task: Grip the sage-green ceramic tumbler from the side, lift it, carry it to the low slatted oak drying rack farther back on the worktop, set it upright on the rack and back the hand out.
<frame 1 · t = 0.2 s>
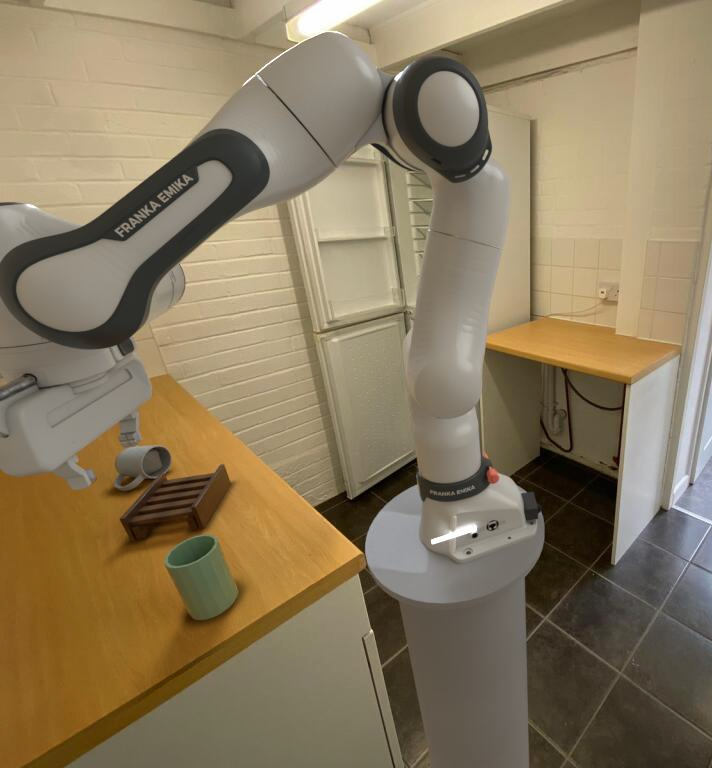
hand: (111, 463, 52), 29 cm above the kitchen counter, tool pointing down, fingers open, 8 cm apart
ceramic mug: (145, 478, 99), on the kitchen counter
rack: (185, 510, 88), on the kitchen counter
tumbler: (214, 601, 67), on the kitchen counter
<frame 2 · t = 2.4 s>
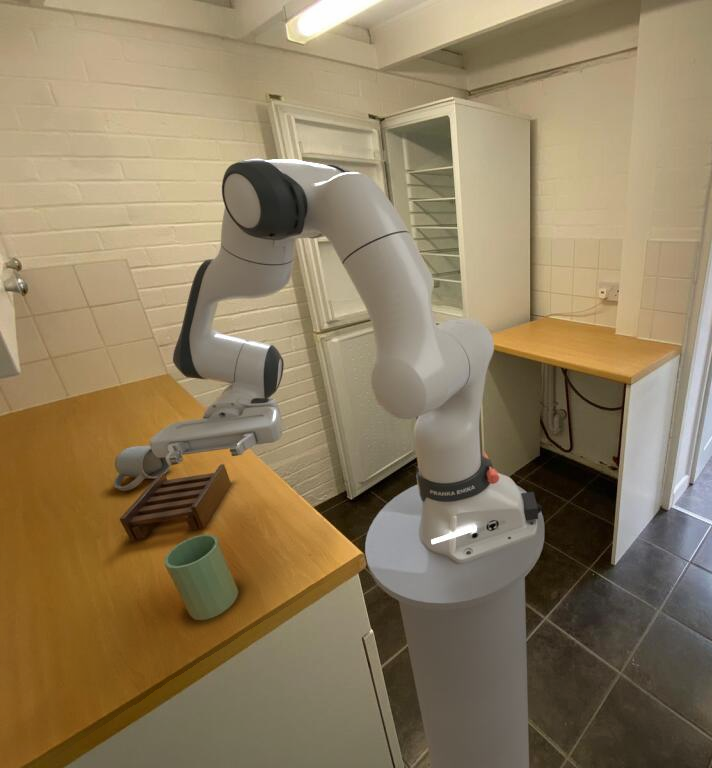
hand: (204, 456, 70), 20 cm above the kitchen counter, tool horizontal, fingers open, 8 cm apart
nothing on the kitchen counter moved.
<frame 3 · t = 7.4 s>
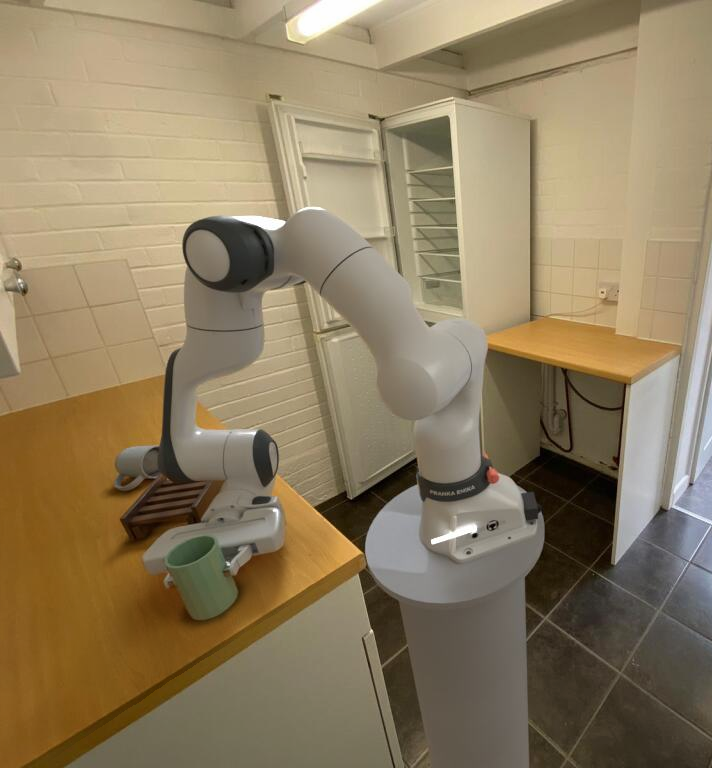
hand: (200, 578, 64), 6 cm above the kitchen counter, tool horizontal, fingers closed on tumbler, 6 cm apart
tumbler: (214, 601, 67), on the kitchen counter, touching gripper
everything else where it was.
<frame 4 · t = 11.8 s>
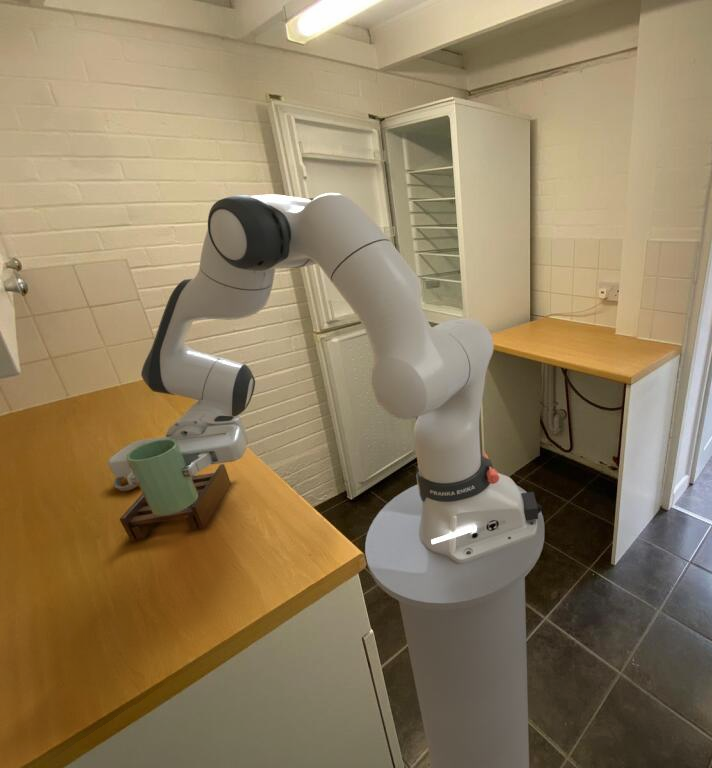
hand: (161, 477, 70), 17 cm above the kitchen counter, tool horizontal, fingers closed on tumbler, 6 cm apart
tumbler: (175, 502, 73), point 11 cm above the kitchen counter, touching gripper
everything else where it was.
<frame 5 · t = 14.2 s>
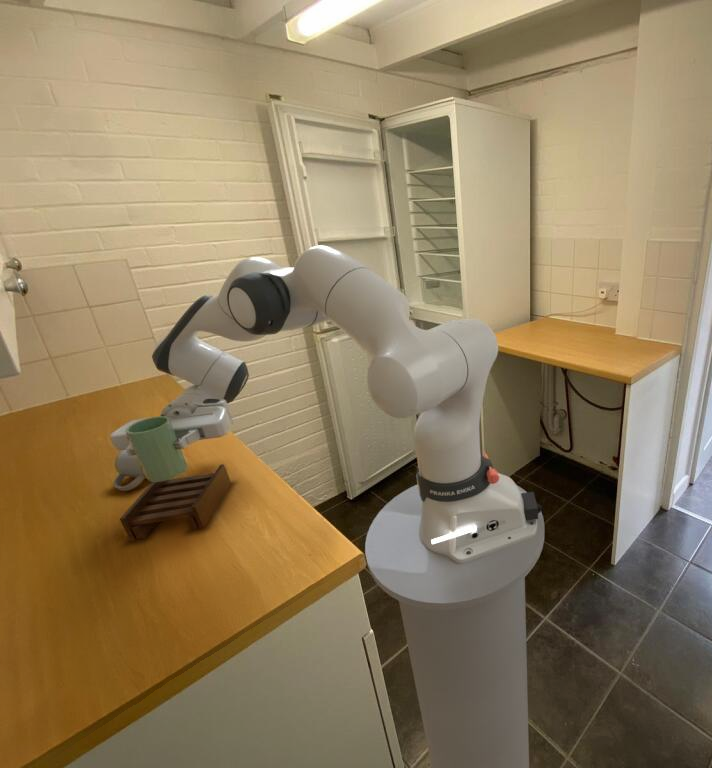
hand: (155, 449, 81), 16 cm above the kitchen counter, tool horizontal, fingers closed on tumbler, 6 cm apart
tumbler: (168, 472, 84), point 10 cm above the kitchen counter, touching gripper
everything else where it was.
when the fingers open (10 cm above the kitchen counter, at t = 16.4 s): tumbler stays where it is, resting on rack.
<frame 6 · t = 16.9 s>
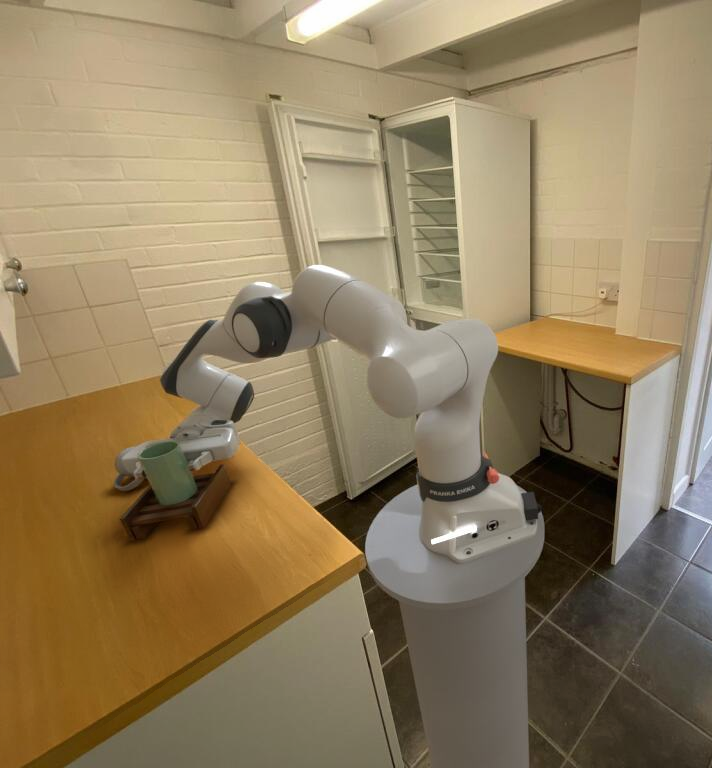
hand: (165, 472, 83), 10 cm above the kitchen counter, tool horizontal, fingers open, 8 cm apart
tumbler: (178, 494, 87), point 4 cm above the kitchen counter, touching rack
everything else where it was.
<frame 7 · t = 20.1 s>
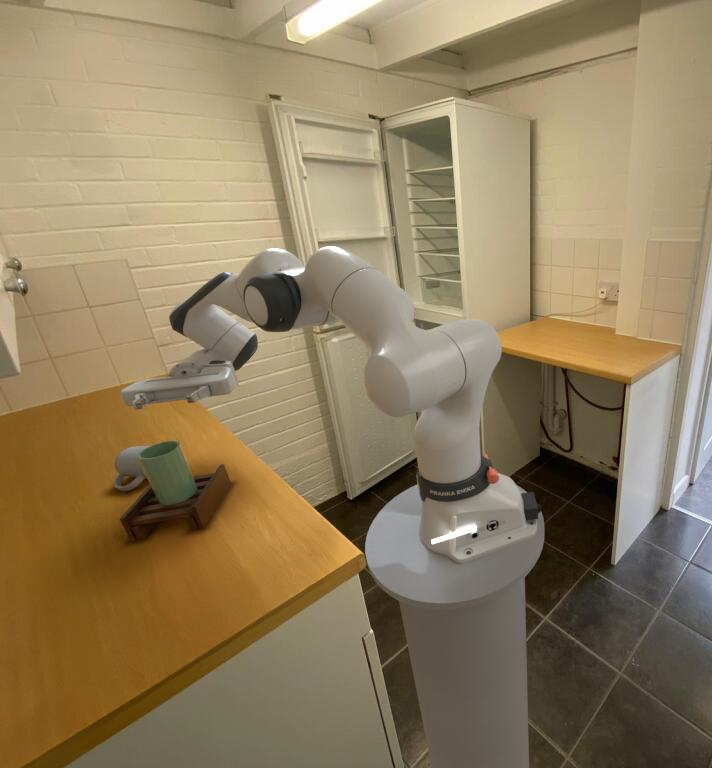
hand: (164, 402, 84), 23 cm above the kitchen counter, tool horizontal, fingers open, 8 cm apart
nothing on the kitchen counter moved.
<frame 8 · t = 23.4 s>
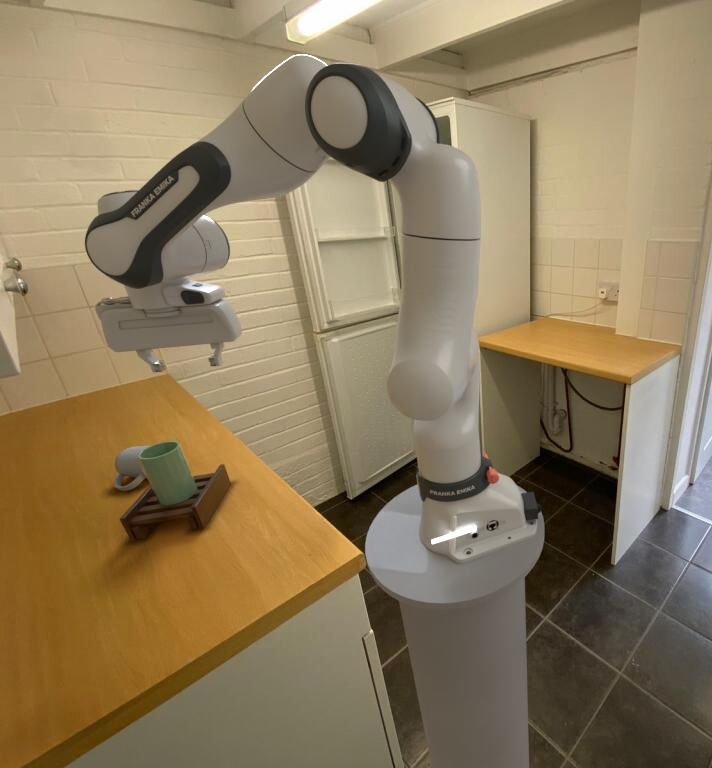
hand: (189, 368, 78), 31 cm above the kitchen counter, tool pointing down, fingers open, 8 cm apart
nothing on the kitchen counter moved.
at the end: tumbler inside the target area on the rack (0.1 cm from its centre), point 4.0 cm above the rack's base; tumbler tilted 0°; the gripper is holding nothing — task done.
